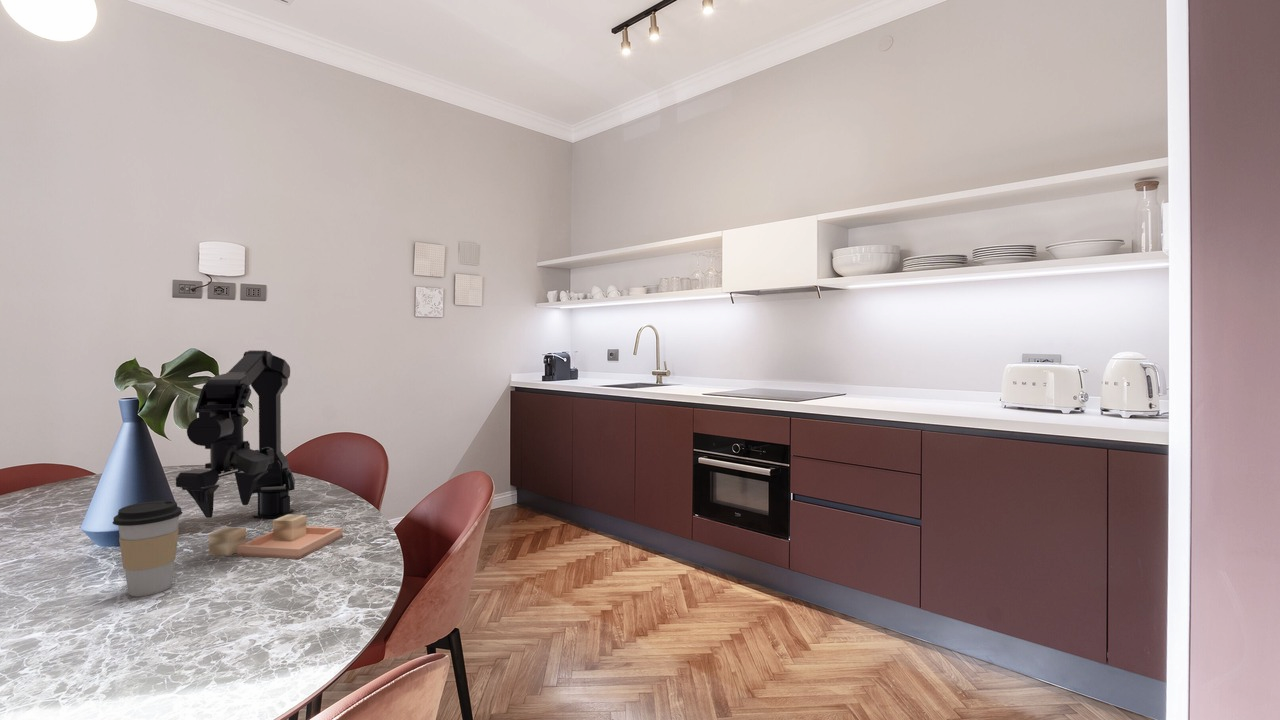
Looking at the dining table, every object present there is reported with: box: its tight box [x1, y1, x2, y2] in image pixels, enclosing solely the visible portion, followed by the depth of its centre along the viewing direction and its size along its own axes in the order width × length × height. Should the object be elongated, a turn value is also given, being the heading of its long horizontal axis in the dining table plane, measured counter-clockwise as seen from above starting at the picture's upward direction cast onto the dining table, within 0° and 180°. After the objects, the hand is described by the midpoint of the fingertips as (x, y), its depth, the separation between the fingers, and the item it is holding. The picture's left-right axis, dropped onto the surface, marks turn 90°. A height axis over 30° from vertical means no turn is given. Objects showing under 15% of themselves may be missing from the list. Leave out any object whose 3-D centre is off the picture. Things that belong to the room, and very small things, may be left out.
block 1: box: [208, 526, 247, 557], centre depth 121 cm, size 4×4×4 cm
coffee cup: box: [112, 500, 183, 597], centre depth 102 cm, size 9×9×15 cm
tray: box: [236, 525, 344, 560], centre depth 125 cm, size 14×14×2 cm
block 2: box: [272, 513, 307, 541], centre depth 128 cm, size 4×4×4 cm
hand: (227, 511), depth 121 cm, fingers open, 9 cm apart
